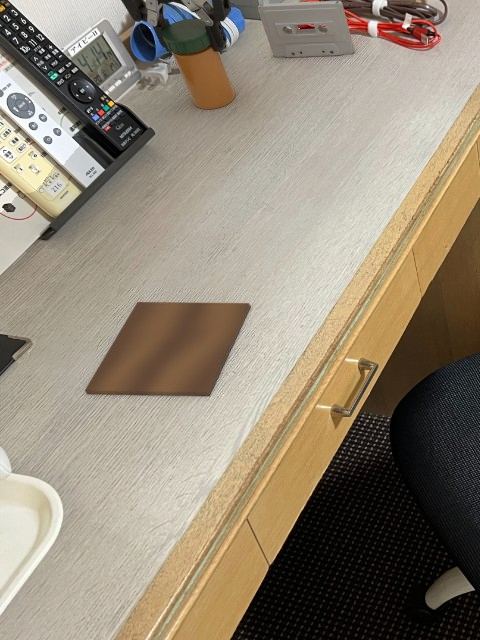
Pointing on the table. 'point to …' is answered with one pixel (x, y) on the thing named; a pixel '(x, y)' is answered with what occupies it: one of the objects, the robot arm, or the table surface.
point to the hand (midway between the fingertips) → (196, 48)
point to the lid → (186, 36)
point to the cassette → (306, 40)
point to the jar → (205, 78)
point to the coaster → (170, 349)
